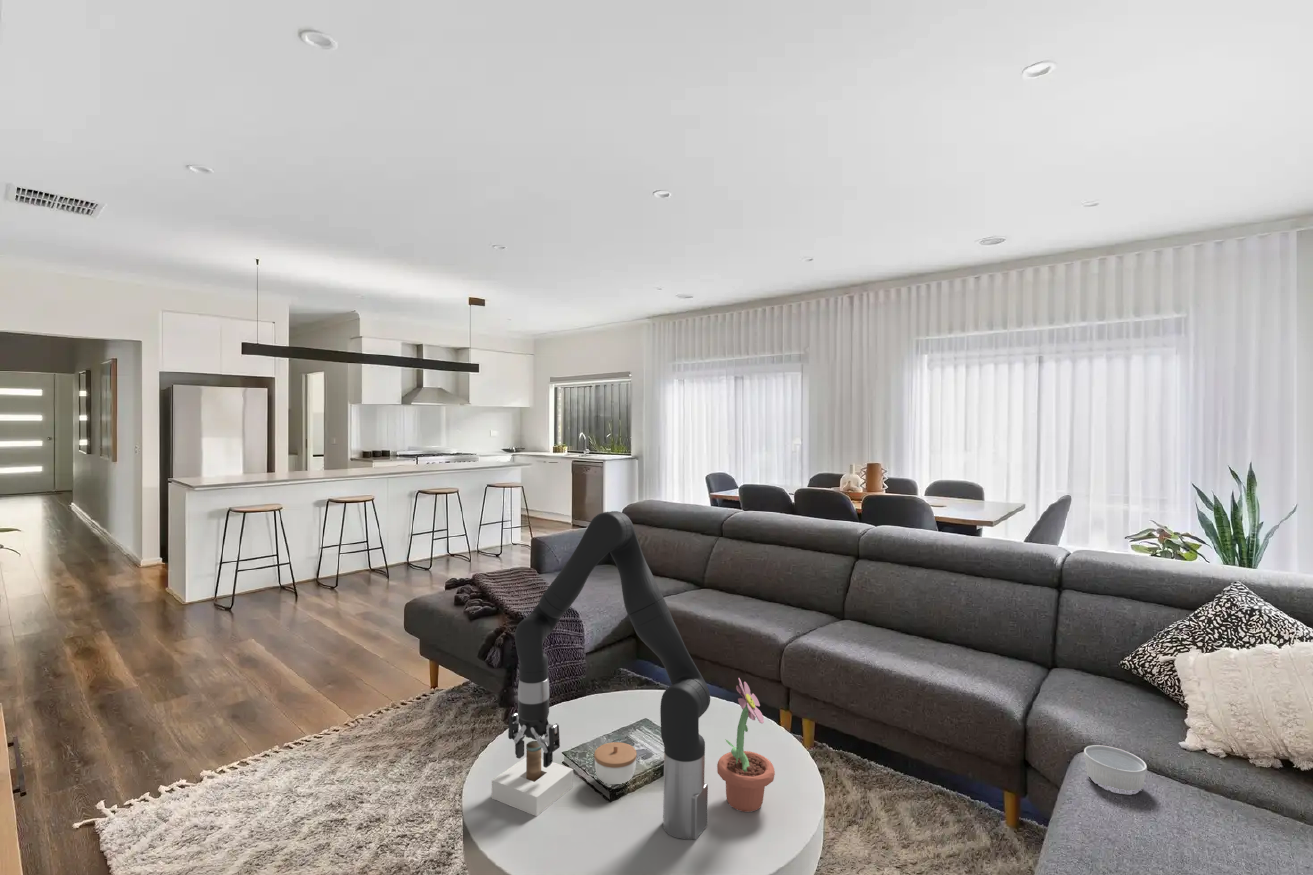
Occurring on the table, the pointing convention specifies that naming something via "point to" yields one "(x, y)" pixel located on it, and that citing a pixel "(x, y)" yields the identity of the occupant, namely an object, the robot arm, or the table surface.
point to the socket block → (532, 787)
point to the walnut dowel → (533, 761)
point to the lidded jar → (615, 762)
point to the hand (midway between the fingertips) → (533, 761)
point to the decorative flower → (745, 762)
